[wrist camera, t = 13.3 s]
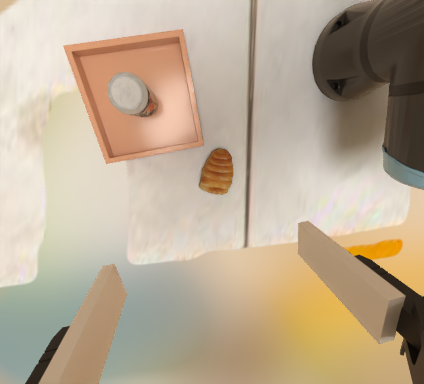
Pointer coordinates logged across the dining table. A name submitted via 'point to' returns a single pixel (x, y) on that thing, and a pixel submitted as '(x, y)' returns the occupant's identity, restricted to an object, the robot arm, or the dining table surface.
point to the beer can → (131, 95)
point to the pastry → (217, 172)
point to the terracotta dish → (156, 81)
